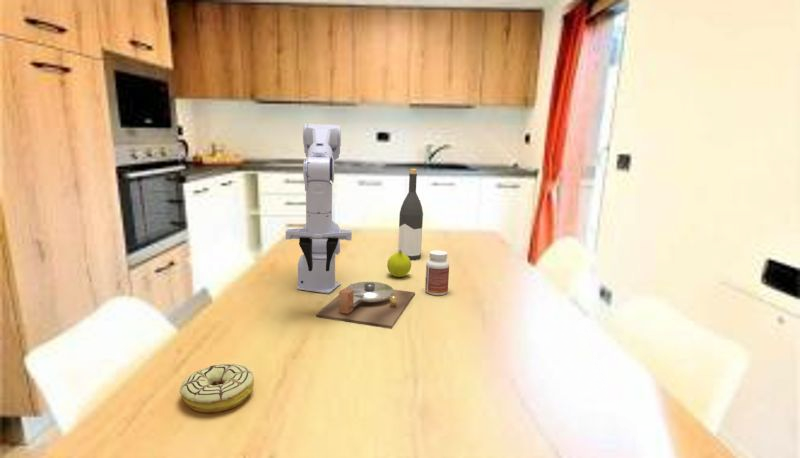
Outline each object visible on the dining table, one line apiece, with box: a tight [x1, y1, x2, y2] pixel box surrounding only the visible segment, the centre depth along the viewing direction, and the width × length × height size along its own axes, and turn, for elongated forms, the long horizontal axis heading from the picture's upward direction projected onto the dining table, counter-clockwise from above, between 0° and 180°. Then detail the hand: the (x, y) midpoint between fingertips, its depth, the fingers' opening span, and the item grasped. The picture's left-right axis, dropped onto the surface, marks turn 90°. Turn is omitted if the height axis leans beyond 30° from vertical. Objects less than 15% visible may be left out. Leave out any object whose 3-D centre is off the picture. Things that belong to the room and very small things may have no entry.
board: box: [315, 289, 416, 329], centre depth 110 cm, size 18×22×2 cm
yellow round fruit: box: [386, 248, 412, 278], centre depth 132 cm, size 7×7×10 cm
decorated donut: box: [178, 363, 255, 414], centre depth 71 cm, size 10×11×4 cm
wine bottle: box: [397, 168, 424, 261], centre depth 150 cm, size 8×8×30 cm
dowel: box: [390, 295, 397, 308], centre depth 108 cm, size 2×2×3 cm
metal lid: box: [338, 281, 394, 314], centre depth 110 cm, size 18×12×5 cm, turn 155°
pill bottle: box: [424, 249, 450, 296], centre depth 120 cm, size 6×6×11 cm
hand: (319, 269), depth 103 cm, fingers open, 3 cm apart
